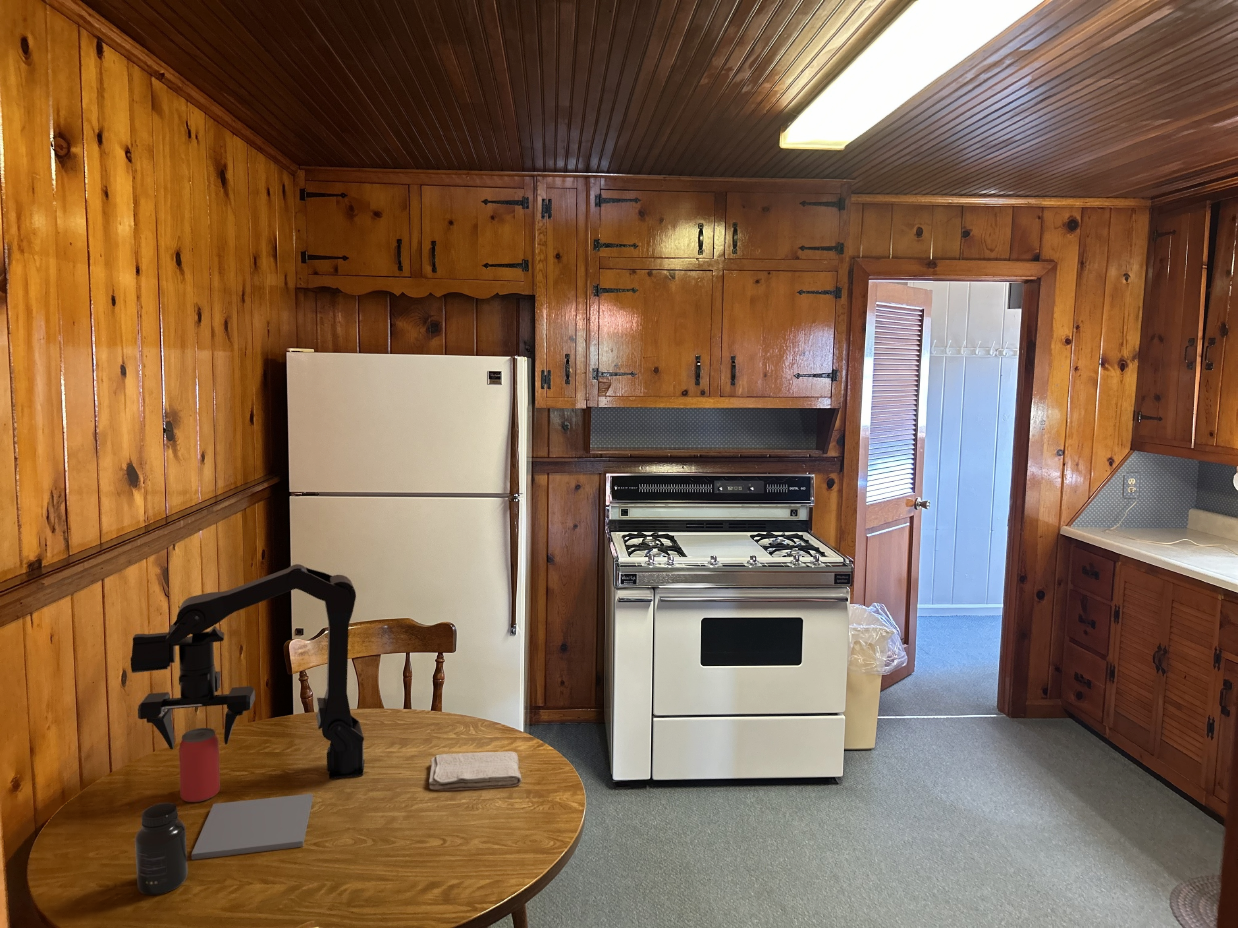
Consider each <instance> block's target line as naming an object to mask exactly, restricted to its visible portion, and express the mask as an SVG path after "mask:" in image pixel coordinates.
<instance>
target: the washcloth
mask: <svg viewBox="0 0 1238 928" xmlns="http://www.w3.org/2000/svg"><path fill="white" fill-rule="evenodd" d="M430 762H431V763H430V764H431V766H430V774H429V780H428V782H429V790H434V791H436V790H437V791H460V790H475V789H477V790H479V789H493V788H494V789H495V788H507V787H509V788H510V787H517V786H519V785H520V784H521V783H522V781H523V780H522V779H523V778H522V775H521V772H520V769H519V768H520V765H519V763H520V761H519V756H518V754H517V753H516V752H515V751H497V752H495V751H494V752H493V751H481V752H463V753H444V754H437V755H435V756H434V757H433V758H431V759H430Z"/></svg>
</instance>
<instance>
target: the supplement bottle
mask: <svg viewBox="0 0 1238 928" xmlns="http://www.w3.org/2000/svg"><path fill="white" fill-rule="evenodd" d="M140 818H141V823H140V824H141V828H139V830H138V831H137V833H136V834H135V837H134V843H135V844H134V845H135V848H134V849H135V861H136V865H135V866H136V879H137V880H136V881H137V882H136V883H137V889H138V891H139V892H141V894H144V895H147V896H158V895H162V894H163V895H164V894H167V893H169V892H171V891H173V890H175V889H177V888H179V887H180V886H181V885H182V884H183V883H184V882H185V881H186V879H187V876H188V856H187V855H188V853H187V852H188V851H187V850H188V849H187V832H186V825H185V823H184V822H183V821H182V820H181V819H179V813H178V807H177V805H176V804H175V803H173V802H161V803H157V804H154V805H150V806H149V807H147V808H145V809H144V810H143V811H142V813H141V817H140Z"/></svg>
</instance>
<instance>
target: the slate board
mask: <svg viewBox="0 0 1238 928" xmlns="http://www.w3.org/2000/svg"><path fill="white" fill-rule="evenodd" d="M313 795H314V794H313V793H306V794H296V795H288V796H287V795H286V796H277V797H270V798H269V797H268V798H267V797H266V798H258V799H257V798H256V799H250V800H249V799H247V800H239V801H228V802H220V803H218V802H217V803H213V804H212V806H211V809H210V811H209V814H208V816H207V818H206V820H205V823H204V824H203V827H202V830H201V832H200V834H199V837H198V839H197V841H196V843H195V846H194V848H193V850H192V852H191V860H192V861H193V860H202V859H210V858H218V857H226V856H234V855H246V854H254V853H261V852H270V851H277V850H285V849H293V848H302V847H304V844H305V838H306V834H307V829H308V823H309V818H310V814H311V809H312V805H313V800H314V796H313Z"/></svg>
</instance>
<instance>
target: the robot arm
mask: <svg viewBox="0 0 1238 928" xmlns="http://www.w3.org/2000/svg"><path fill="white" fill-rule="evenodd" d="M294 590H299V591H301V592H303V593H305V594H307V595H309V596H312V597H313V598H315V599H317V600H319V601H322V602H324V606H325V613H326V617H327V621H328V622H327V624H328V625H327V666H326V669H327V670H326V671H327V672H326V676H327V677H326V691H325V694H324V697H317V698H316V700H317V706H318V707H317V709H318V710H317V713H316V717H315V718H316V723H317V728H318V729H317V730H320V729H321V734H322V736H323V738H324V739H326V740H327V741H329V742H330V743H329V746H328V747H327V750H326V772H327V773H328V779H330V780H333V779H343V778H354V777H361V776H364V771H365V759H364V741H365V737H364V733H363V730H362V726H361V722H360V721H359V720H358V719H357V718H355V717H354V716H353V715H352V713H351V707H350V702H349V698H348V697H349V696H348V669H349V668H348V667H349V665H348V664H349V663H348V660H349V659H348V658H349V657H348V656H349V626H350V621H351V619H352V615H353V613H354V607H355V603H356V600H357V599H356V598H357V595H356V594H357V592H356V589H355V587H354V585H353V583H352V581H351V579H350V578H349V577H347V576H346V575H343V574H334V575H332V574H330V573H326V572H323V571H320V570H317V569H312V568H309V567H306V566H304V565H302V564H299V563H296V564H292V565H290V566H289V567H288V568H285V569H283V570H279V571H277V572H275V573H272V574H268V575H266V576H264V577H261V578H258V579H255V580H252V581H250V582H246V583H244V584H242V585H239V586H237V587H234V588H231V589H228V590H224V591H213V592H206V593H202V594H198V595H193V596H189V597H188V598H186V599H185V600H183V602H182V603H181V605H180V607H179V608H178V612H177V614H176V620H175V621H174V622H173V623H172V624H170V626H169V629H168V631H165V632H156V633H135V634H133V637H132V646H131V656H130V670H131V673H132V674H137V673H148V672H155V671H162V670H163V671H165V670H169V668H170V667H171V664H175V663H176V658H177V657H176V655H177V654H176V653H177V652H176V651H177V649H176V647H177V646H178V661H179V664H178V665H179V676H178V685H179V688H180V689H179V691H180V693H179V694H180V695H179V696H180V697H171V694H170V692H169V691H168V692H167V691H166V692H153V693H151V692H150V693H148V694H147V695H145V697H144V698H143V700H141V702H140V703H139V704H138V707H137V719H138V720H145V721H146V723H147V724H152V725H153V726H154V727H155V728H156V729H157V731H158V732H159V733H160V734H161V736H162V738H163V739H164V742H165V743H166V744H167V746H168V748H169V749H170V750H174V748H175V734H174V733H175V732H174V726H173V710H175V709H189V708H201V707H214V706H216V707H217V706H226V709H227V711H226V713H225V714H224V715H225V716H224V717H225V718H224V731H223V732H224V733H223V734H224V735H223V740H224V742H223V743H224V745H228V744H229V740H230V737H231V734H232V732H233V729H234V724H235V721H236V719H237V717H238V716H242V715H244V713H245V712H246V711H250V710H251V709H252V707H253V705H254V702H255V700H256V690H255V688H253V686H252V685H251V686H249V685H248V686H237V687H231V689H230V690H229V693H226V694H225V693H224V694H216V693H218V692H219V690H220V688H221V673H222V672H221V671H216V666H215V665H216V664H215V650H214V649H215V645H214V643H221V642H223V641H224V640H225V634H226V633H225V632H223V631H222V630H220V629H218V627H217V626H216V625H217V624H219V623H220V622H222V621H223V620H225V619H226V618H227V617H228V616H230V615H232V614H234V613H236V612H238V611H241V610H243V609H246V608H248V607H251V606H254V605H257V604H260V603H262V602H265V601H267V600H270V599H272V598H276V597H278V596H280V595H283V594H286V593H288V592H291V591H294ZM210 628H211V629H210ZM209 629H210V630H209Z"/></svg>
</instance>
